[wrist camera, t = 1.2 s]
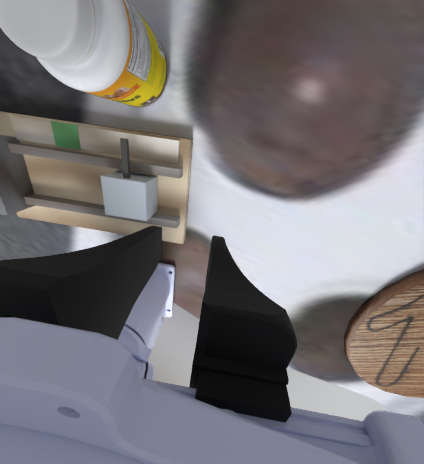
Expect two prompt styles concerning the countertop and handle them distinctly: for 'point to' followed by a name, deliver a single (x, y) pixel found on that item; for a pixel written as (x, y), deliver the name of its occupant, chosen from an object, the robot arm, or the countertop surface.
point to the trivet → (390, 338)
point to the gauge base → (88, 173)
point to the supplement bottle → (91, 46)
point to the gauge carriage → (129, 190)
